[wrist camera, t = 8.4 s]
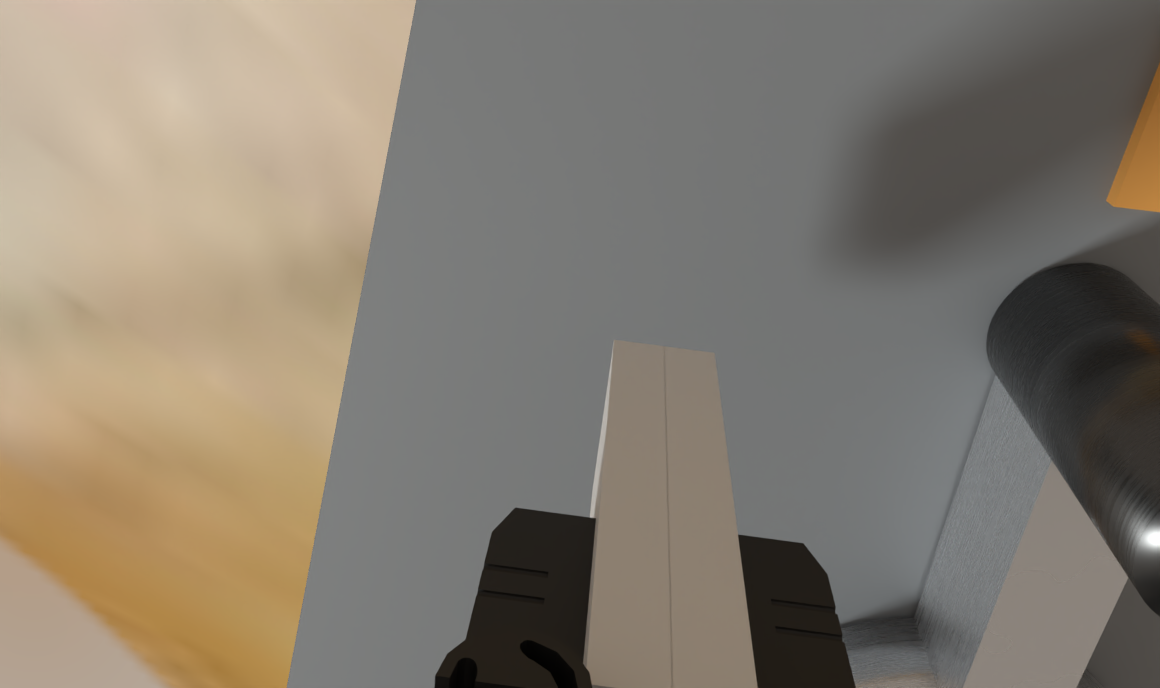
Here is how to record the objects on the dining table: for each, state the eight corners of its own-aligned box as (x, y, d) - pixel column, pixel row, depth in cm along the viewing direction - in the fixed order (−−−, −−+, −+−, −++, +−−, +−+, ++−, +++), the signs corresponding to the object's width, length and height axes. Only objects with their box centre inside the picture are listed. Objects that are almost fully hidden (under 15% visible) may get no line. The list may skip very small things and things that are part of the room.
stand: (1003, 911, 28) (1030, 994, 26) (292, 733, 27) (262, 805, 25) (1685, 127, 17) (1829, 165, 15) (491, -266, 15) (465, -285, 13)
